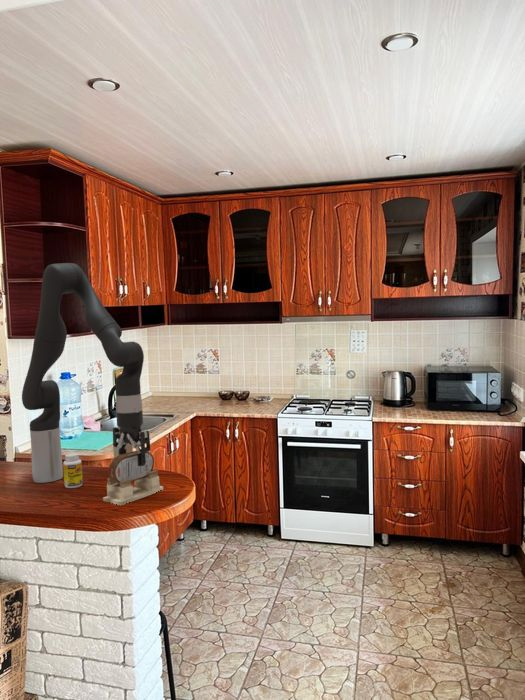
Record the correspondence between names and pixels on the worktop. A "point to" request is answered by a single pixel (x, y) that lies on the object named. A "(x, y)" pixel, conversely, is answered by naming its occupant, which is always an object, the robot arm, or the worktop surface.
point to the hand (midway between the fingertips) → (132, 463)
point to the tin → (130, 467)
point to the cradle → (132, 489)
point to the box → (128, 448)
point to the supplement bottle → (72, 471)
